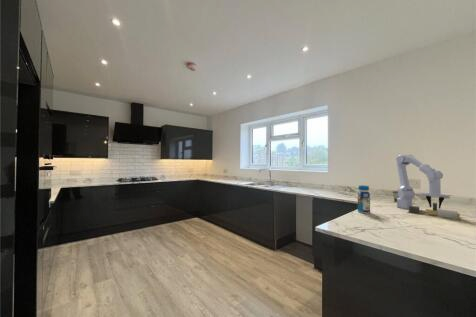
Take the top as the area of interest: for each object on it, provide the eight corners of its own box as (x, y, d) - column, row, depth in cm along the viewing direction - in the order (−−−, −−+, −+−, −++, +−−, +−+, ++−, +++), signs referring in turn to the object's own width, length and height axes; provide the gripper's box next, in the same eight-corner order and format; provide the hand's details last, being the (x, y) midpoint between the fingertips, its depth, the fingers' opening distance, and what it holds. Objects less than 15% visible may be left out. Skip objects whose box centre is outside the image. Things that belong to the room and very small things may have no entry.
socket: (409, 212, 148) (409, 206, 148) (410, 211, 153) (410, 205, 153) (418, 213, 145) (418, 207, 145) (419, 212, 149) (419, 206, 149)
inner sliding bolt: (425, 213, 143) (425, 202, 143) (426, 212, 145) (426, 201, 145) (459, 218, 131) (459, 206, 131) (459, 217, 133) (459, 205, 133)
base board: (406, 214, 147) (406, 212, 147) (409, 211, 155) (409, 210, 155) (460, 222, 128) (460, 220, 128) (460, 218, 136) (460, 217, 136)
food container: (407, 201, 192) (407, 191, 193) (409, 203, 187) (408, 192, 187) (391, 200, 199) (391, 190, 199) (392, 201, 193) (392, 191, 194)
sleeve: (437, 216, 138) (437, 210, 138) (438, 215, 141) (438, 209, 141) (457, 219, 131) (457, 212, 131) (457, 218, 134) (457, 211, 134)
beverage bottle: (358, 210, 160) (358, 185, 160) (371, 211, 155) (370, 185, 155) (356, 212, 153) (356, 186, 154) (369, 214, 148) (369, 186, 148)
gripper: (420, 187, 144) (420, 206, 143) (449, 189, 133) (449, 210, 133) (421, 186, 148) (421, 205, 148) (450, 188, 137) (450, 208, 137)
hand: (435, 207), depth 141 cm, fingers open, 4 cm apart
